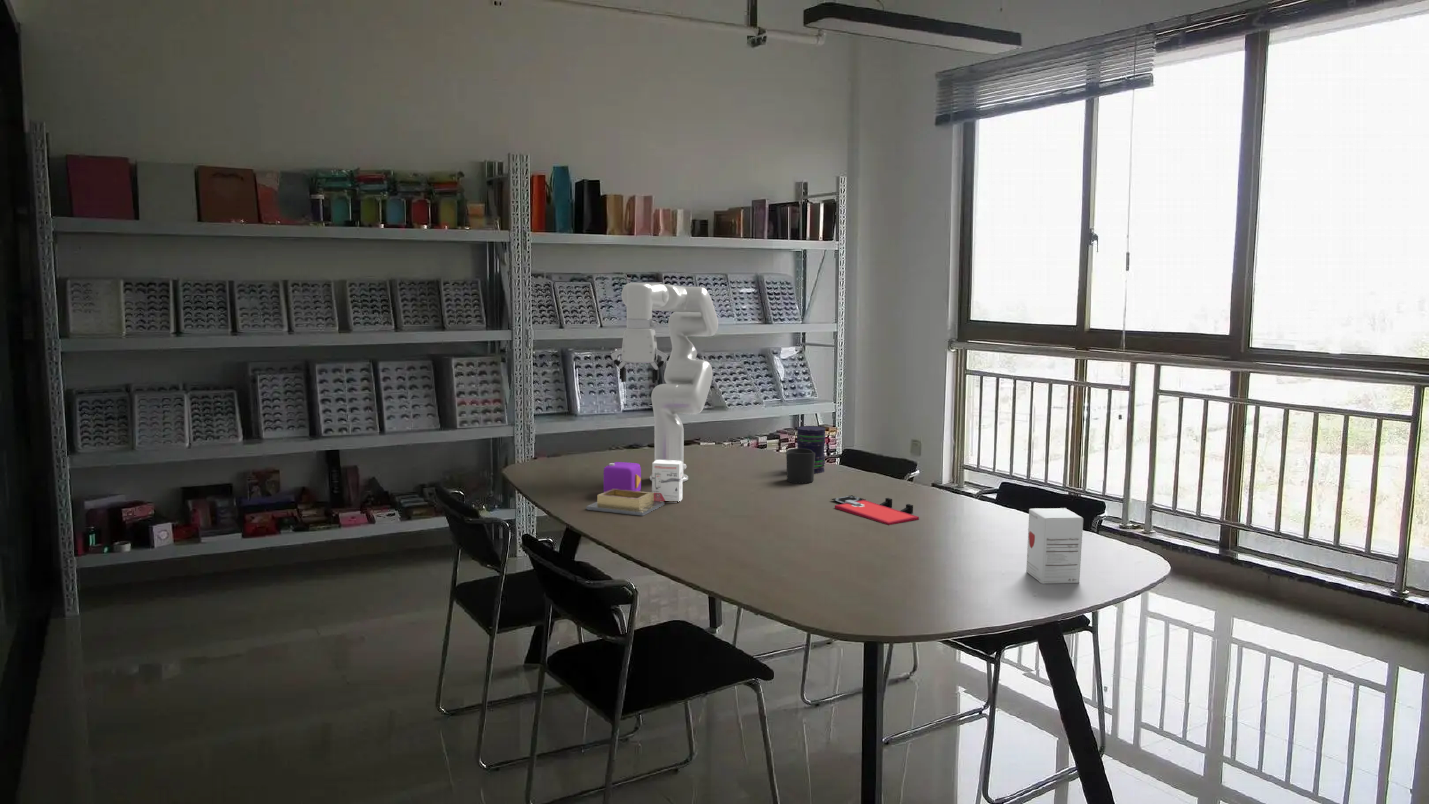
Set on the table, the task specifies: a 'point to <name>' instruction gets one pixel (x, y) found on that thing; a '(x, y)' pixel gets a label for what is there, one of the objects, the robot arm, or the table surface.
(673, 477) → the ink box
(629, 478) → the toy camera
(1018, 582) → the table surface
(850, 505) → the red board with handle
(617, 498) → the mount collar
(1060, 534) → the supplement box
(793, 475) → the pen holder
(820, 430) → the storage jar
